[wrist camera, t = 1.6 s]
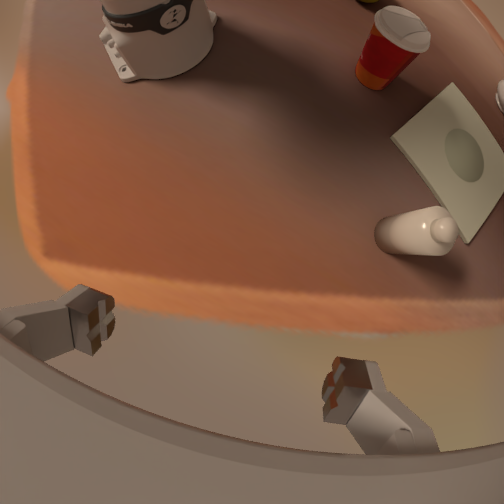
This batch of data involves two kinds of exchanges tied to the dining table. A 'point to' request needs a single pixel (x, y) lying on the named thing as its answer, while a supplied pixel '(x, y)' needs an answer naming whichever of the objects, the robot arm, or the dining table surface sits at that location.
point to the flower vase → (500, 95)
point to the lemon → (369, 1)
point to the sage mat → (455, 158)
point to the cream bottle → (417, 232)
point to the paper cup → (391, 46)
